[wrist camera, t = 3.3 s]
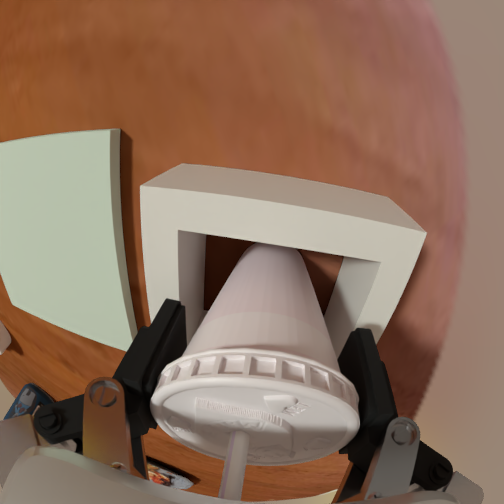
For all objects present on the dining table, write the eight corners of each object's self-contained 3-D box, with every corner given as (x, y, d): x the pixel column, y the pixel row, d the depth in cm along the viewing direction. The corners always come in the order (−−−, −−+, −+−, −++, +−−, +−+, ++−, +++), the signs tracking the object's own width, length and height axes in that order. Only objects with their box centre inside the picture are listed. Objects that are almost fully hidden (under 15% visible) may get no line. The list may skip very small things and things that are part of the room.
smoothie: (290, 191, 13) (282, 600, 1) (348, 285, 15) (392, 551, 3) (192, 253, 15) (60, 506, 3) (256, 328, 17) (218, 553, 5)
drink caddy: (182, 163, 13) (140, 185, 9) (388, 197, 13) (426, 232, 9) (182, 322, 18) (160, 372, 14) (334, 345, 17) (341, 399, 14)
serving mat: (-15, 146, 13) (-24, 149, 12) (120, 128, 12) (110, 130, 11) (17, 299, 20) (12, 304, 20) (140, 345, 20) (136, 354, 19)
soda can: (46, 402, 35) (21, 446, 24) (22, 378, 32) (-6, 422, 21) (63, 407, 33) (37, 457, 23) (37, 382, 30) (6, 432, 20)
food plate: (181, 487, 49) (178, 497, 45) (98, 453, 47) (93, 462, 44) (203, 470, 38) (200, 485, 34) (87, 422, 36) (80, 436, 33)
